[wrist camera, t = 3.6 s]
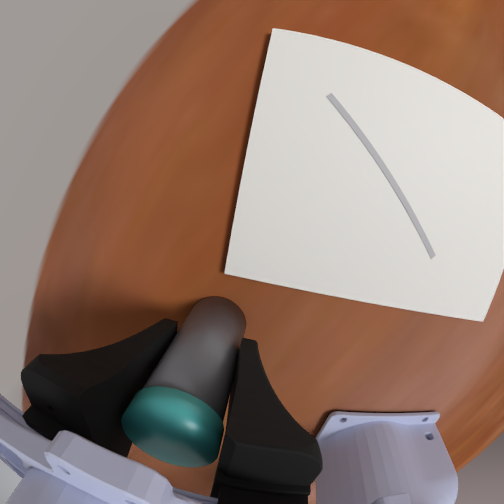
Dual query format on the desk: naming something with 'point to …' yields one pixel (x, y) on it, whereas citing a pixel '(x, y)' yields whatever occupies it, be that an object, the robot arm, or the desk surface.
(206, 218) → the desk surface
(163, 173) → the desk surface
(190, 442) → the marker
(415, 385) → the desk surface
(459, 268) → the notepad
